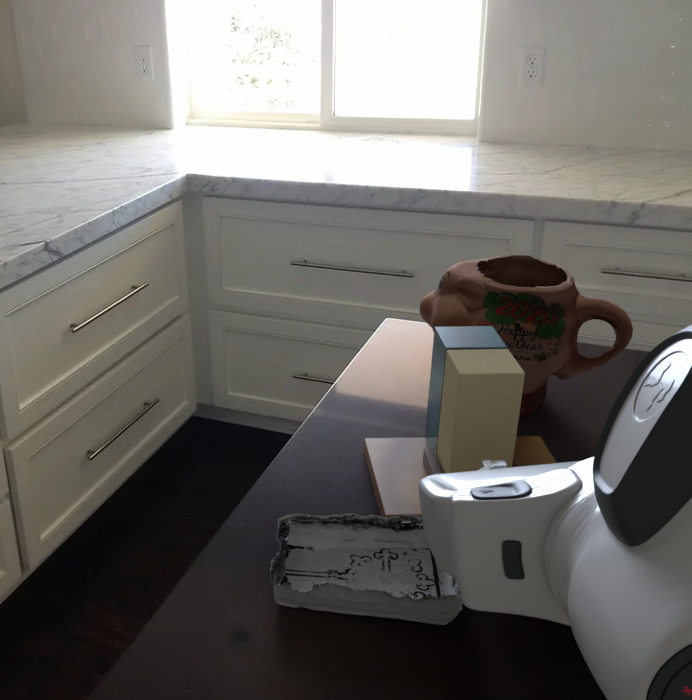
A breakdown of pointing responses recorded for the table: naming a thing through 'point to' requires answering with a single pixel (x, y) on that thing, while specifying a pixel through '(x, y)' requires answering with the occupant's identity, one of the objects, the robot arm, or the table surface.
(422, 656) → the table surface
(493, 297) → the brown sculpted mug
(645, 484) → the robot arm
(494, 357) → the beige rectangular block
